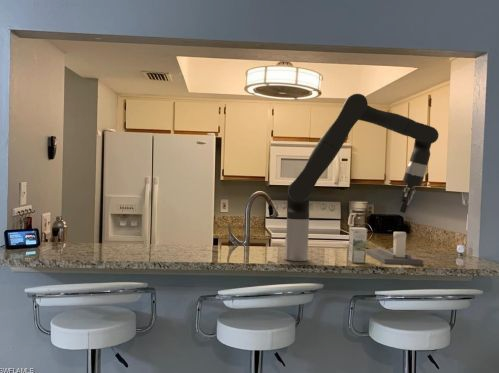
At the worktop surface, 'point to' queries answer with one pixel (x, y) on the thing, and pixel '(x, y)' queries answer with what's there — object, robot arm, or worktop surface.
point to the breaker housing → (393, 257)
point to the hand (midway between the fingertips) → (402, 212)
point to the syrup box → (357, 244)
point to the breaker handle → (399, 244)
